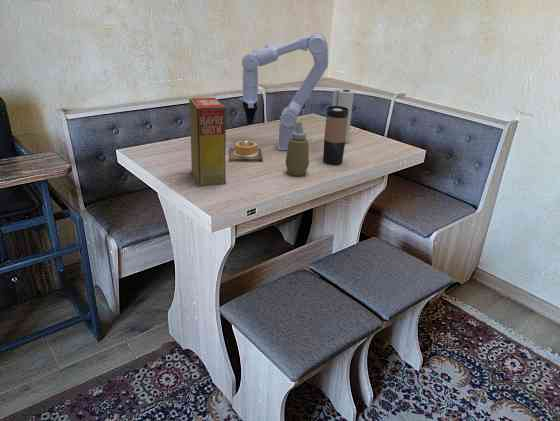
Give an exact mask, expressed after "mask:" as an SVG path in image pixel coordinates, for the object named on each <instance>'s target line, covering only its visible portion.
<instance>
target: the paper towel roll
mask: <svg viewBox="0 0 560 421" xmlns="http://www.w3.org/2000/svg"><path fill="white" fill-rule="evenodd" d="M332 92H333V94H332V104H331V106H342V107H346V108H348V120H347V129H346V139H345V145H346V144H348V143H349V140H350V130H351V122H352V111H353V103H354V95H355V94H354V93H355V91H354V90H353V89H337V90H333V91H332Z"/></svg>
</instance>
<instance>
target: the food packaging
mask: <svg viewBox="0 0 560 421" xmlns="http://www.w3.org/2000/svg"><path fill="white" fill-rule="evenodd" d="M188 101H189V102H188V103H189V124H190V125H189V127H190V128H189V129H190V130H189V133H190V153H191V155H190V156H191V157H190V158H191V159H190V160H191V173H192V176H193V177H194V179H195V181H196V184H197V185H198V187H206V186H215V185H224V184H227V181H226V180H227V178H226V177H227V176H226V149H227V148H226V147H227V146H226V143H227V142H226V141H227V140H226V136H227V135H226V127H227V126H226V125H227V118H226V117H227V113H226V112H227V108H226V106H225V105H224V104H222V103H221V101H220V100H218V99H217V97H191V98H189V100H188Z"/></svg>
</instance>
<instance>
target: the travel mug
mask: <svg viewBox="0 0 560 421" xmlns="http://www.w3.org/2000/svg"><path fill="white" fill-rule="evenodd" d="M347 120H348V108H346V107H342V106H332V105H331V106H328V107H327V108H326V118H325V127H324V139H323V151H322V152H323V155H322V157H323V158H322V162H323V163H324V164H326V165H328V166H340V165H341V164H342V163H343V160H344V152H345V146H346V144H345V139H346V129H347Z"/></svg>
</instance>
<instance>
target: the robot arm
mask: <svg viewBox="0 0 560 421" xmlns="http://www.w3.org/2000/svg"><path fill="white" fill-rule="evenodd" d="M328 47H329V45H328V42H327V39H326V37H325V35H324V34H322V33H319V32H316V33H314V34H312V35H311V34H309V35H304V36H301V37H298V38H295V39H293V40H291V41H288V42H286V43H284V44H281V45H279V46H274V45H272V44H271V45H270V44H265V45H264V47H263V48H260V49H258V50H256V49H253V50H252V52H248V53H247V54H245V55H244V56H243V57H242V60H241V66H242V97H239V101H242V104H243V105H242V108H243V109H244V110H243V111H244V112H245V113H244V114H245V118H246V124H249V125H251V124H252V125H253V124H254V120H255V115H256V113H257V110H258V109H259V108H258V107H259V106H258V101H259V98H258V96H259V95H258V93H259V90H258V89H259V72H258V71H259V68H258V67H263V66H266V65H269V64H272V63H274V62H276V61H278V59H279V57H280V56H284V55H287V54H290V53H291V52H295V51H298V50H300V51H305V52H307V51H309V52H310V54H311V56H312V59H313V62H314V65H313V66H312V67H311V69H310V71H309V73H308V74H307V76H306V77H305V79H304V80H303V82H302V83H301V85H300V87H299V89H298V90H297V92H296V93H295V95H294V97H293V98H292V100H291V101H290V103H289V104H288V105H287V106H285V107H284V108H282V111H281V114H280V117H279V127H278V142H277V143H276V147H277V149H278V151H287V150H288V143H289V139H291V138H292V132H294V131H296V127H297V124H298V122H297V119H298V116H299V114H300V113H301V111H302V108H303V107H304V106H305V105H304V104H306V102H307V100H308V99H309V97H310V96H311V94H312V92H313V90H314V89H315V88H316V86H317V84H318V83H319V82H320V80H321V78H322V77H323V75H324V73H325V72H326V70H327V69H328V67H329V50H328V49H329V48H328ZM302 129H303V130H304V127H303V125H302Z"/></svg>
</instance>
